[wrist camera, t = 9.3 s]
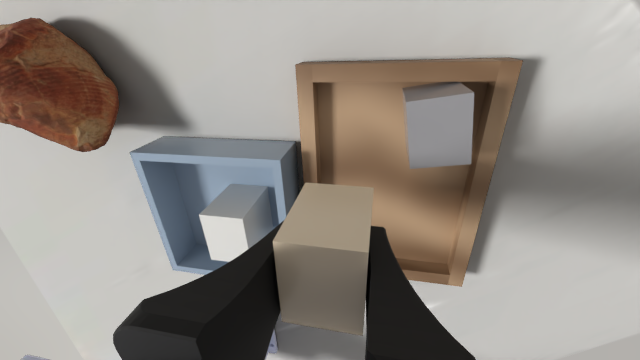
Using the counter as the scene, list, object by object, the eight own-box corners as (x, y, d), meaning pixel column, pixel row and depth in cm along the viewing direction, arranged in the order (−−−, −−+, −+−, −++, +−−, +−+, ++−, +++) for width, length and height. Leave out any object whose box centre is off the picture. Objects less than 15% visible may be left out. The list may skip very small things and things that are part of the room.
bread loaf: (140, 120, 19) (-99, 176, 13) (145, 170, 25) (-10, 220, 20) (58, -32, 20) (-196, -43, 14) (84, 54, 27) (-80, 70, 21)
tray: (457, 270, 23) (461, 286, 22) (314, 253, 26) (309, 267, 24) (510, 57, 16) (523, 60, 14) (302, 62, 18) (295, 64, 17)
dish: (304, 257, 26) (293, 287, 23) (195, 244, 28) (172, 269, 25) (295, 141, 21) (280, 160, 18) (163, 136, 23) (129, 152, 20)
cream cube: (368, 256, 15) (362, 335, 11) (308, 249, 15) (281, 321, 11) (373, 187, 13) (368, 252, 9) (305, 182, 14) (272, 241, 10)
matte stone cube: (454, 138, 18) (471, 164, 14) (405, 143, 19) (409, 169, 15) (455, 79, 16) (474, 92, 13) (402, 87, 17) (406, 102, 14)
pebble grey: (273, 227, 24) (251, 264, 20) (238, 223, 25) (211, 259, 21) (267, 186, 22) (242, 219, 19) (230, 183, 23) (198, 214, 19)
